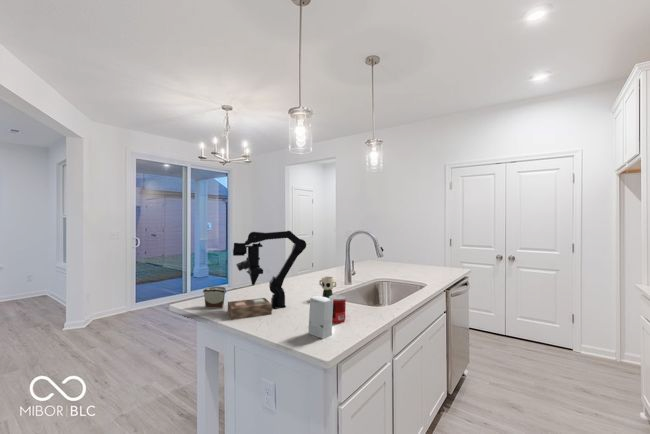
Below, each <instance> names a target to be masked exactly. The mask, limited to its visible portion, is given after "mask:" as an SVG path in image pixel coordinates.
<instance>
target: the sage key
mask: <svg viewBox="0 0 650 434" xmlns="http://www.w3.org/2000/svg"><path fill="white" fill-rule="evenodd" d="M252 302H253V303H254V304H259V303H265V301H264V300H263V299H259V298H253V300H252Z"/></svg>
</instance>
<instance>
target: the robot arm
mask: <svg viewBox="0 0 650 434" xmlns="http://www.w3.org/2000/svg"><path fill="white" fill-rule="evenodd" d="M278 239H280V240H281V239H288V240H289V241H291V242H292V243H293V245H292V249H291V253H290V254H289V256H288V257H287V259H286V260H285V261H284V262H285V263H284V264H283V266H282V267H281V269H279V270H280V271H279V272H278V274H277V275H276V276H274V275H273V276H272V277H271V280H270V281H269V284H268V286H269V290H270V292H271V294H272V297H270V301H271V302H270V303H271V304H272V308H273V309H281V308H286V307H287V306H286V294H285V293H286V292H285V290H284V288H283V287H282V286H283V284H284V281H285V278H286V277H287V274H289V271H290V270H291V268H292V266H293V264H294V263H295V261H296V260H297V258H298V257H299V256H300V254H302V253H303V251H305V250H306V248H307V242H306V240H304V239H301V238H299V237H298V236H297V235H296V234H294V233H293V232H292V230H286V231H285V230H284V231H282V230H281V231H272V232H271V231H270V232H269V231H268V232H261V231H251V232H250V233H248V236H247V239H246V240H245V241H244V242H233V248H232V256H233V257H239V256H240V257H241V256H242V257H243V256H245V255H246V254H247V257H246V259H244V260H243V261H241V262H238V263H236V264H235V265H236V267H237V270H238V271H239V272H241V271H243V270H245V271H246V270H247V271H246V273H247V274H248V275H249V278H250V282H251V285H252V286H255V285H256V282H257V281H258V277H259V276H260V275H263V274H264V269H263V268H262V267H261V266H260V259H261V258H260V248H262V247H263V244H261V242H264V241H266V240H278ZM251 244H252V245H251Z"/></svg>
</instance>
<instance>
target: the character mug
mask: <svg viewBox="0 0 650 434" xmlns="http://www.w3.org/2000/svg"><path fill="white" fill-rule="evenodd" d="M318 282H319V286H321V288H322V289H323V290H322V291H323V292H322V297H327V298H329V296H332V295H334V294H333V289H334V288H336V287H337V281H335V277H333V276H322V277H321V279H320V280H319V281H318Z"/></svg>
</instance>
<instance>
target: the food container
mask: <svg viewBox="0 0 650 434" xmlns="http://www.w3.org/2000/svg"><path fill="white" fill-rule="evenodd" d="M202 293H203V294H204V295H203V296H204V307H205V309H223V308H224V305H225V298H226V296H225V295H226V293H227V290H226V287H225V286H209V287H204V288H203V291H202Z"/></svg>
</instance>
